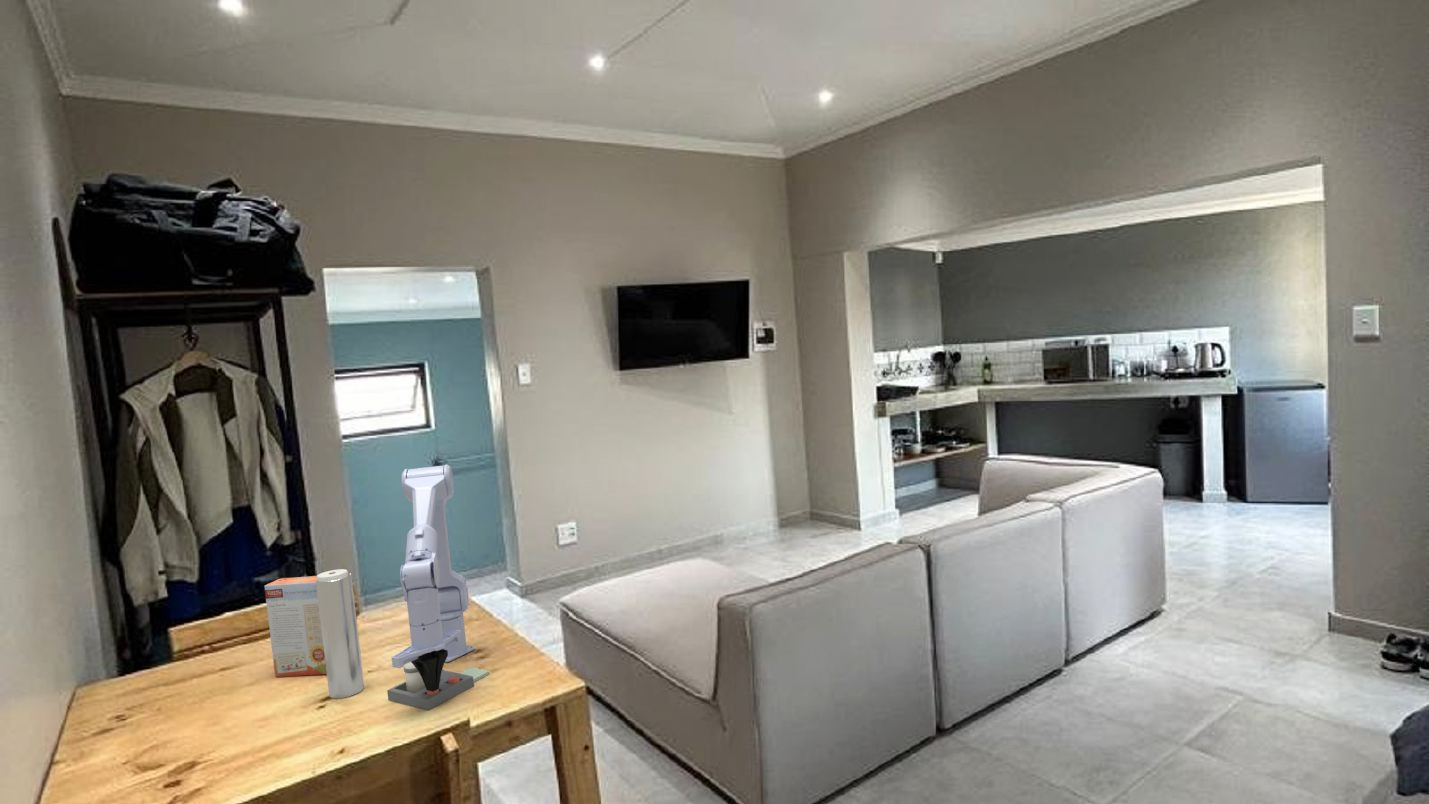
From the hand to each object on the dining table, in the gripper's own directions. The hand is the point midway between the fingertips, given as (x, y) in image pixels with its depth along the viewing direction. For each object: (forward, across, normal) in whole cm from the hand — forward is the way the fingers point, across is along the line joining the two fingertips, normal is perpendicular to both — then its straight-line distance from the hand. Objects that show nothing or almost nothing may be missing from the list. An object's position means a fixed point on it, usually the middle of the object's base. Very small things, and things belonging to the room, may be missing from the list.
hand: (432, 689), depth 144 cm
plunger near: (+2, 0, 0) cm, 2 cm away
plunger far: (+2, +5, 0) cm, 5 cm away
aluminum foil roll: (+3, -4, +22) cm, 23 cm away
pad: (+2, +11, +2) cm, 11 cm away
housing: (+2, +2, +4) cm, 5 cm away
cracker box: (+3, 0, +41) cm, 41 cm away
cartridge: (+2, +1, +6) cm, 7 cm away
